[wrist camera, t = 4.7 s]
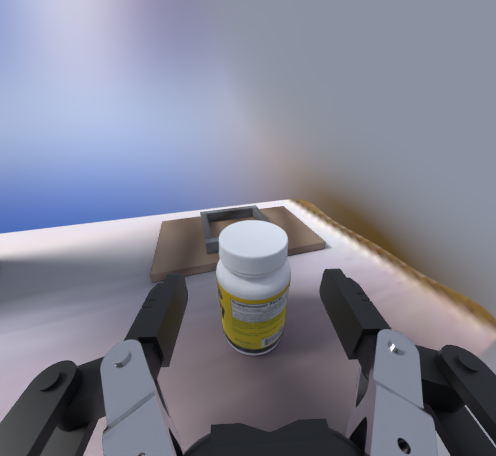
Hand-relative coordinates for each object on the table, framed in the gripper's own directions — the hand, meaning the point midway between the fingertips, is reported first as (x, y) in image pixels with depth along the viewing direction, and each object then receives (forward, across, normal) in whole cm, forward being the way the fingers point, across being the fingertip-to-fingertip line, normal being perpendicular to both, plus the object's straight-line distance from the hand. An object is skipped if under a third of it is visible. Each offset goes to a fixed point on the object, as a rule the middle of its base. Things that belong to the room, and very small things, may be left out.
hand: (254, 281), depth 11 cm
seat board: (+15, +2, +6) cm, 16 cm away
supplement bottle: (+1, 0, +6) cm, 6 cm away
